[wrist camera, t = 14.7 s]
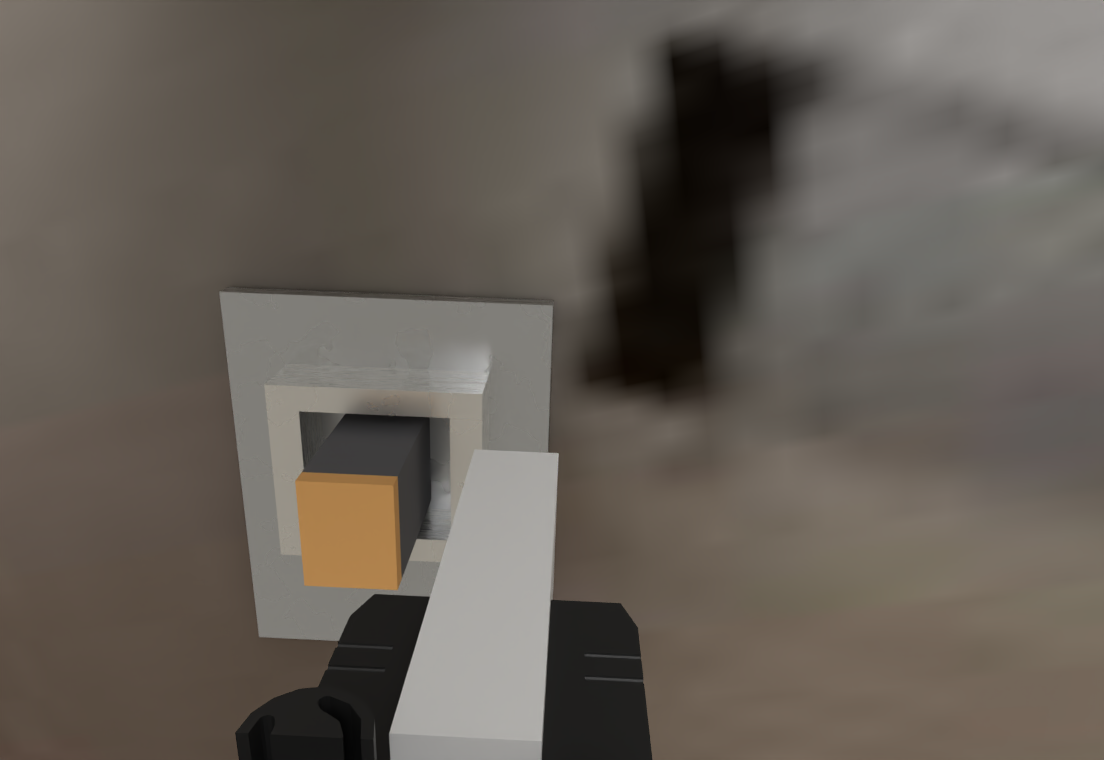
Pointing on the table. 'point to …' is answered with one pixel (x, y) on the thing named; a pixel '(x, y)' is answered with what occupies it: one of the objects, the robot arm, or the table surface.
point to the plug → (364, 501)
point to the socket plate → (376, 389)
